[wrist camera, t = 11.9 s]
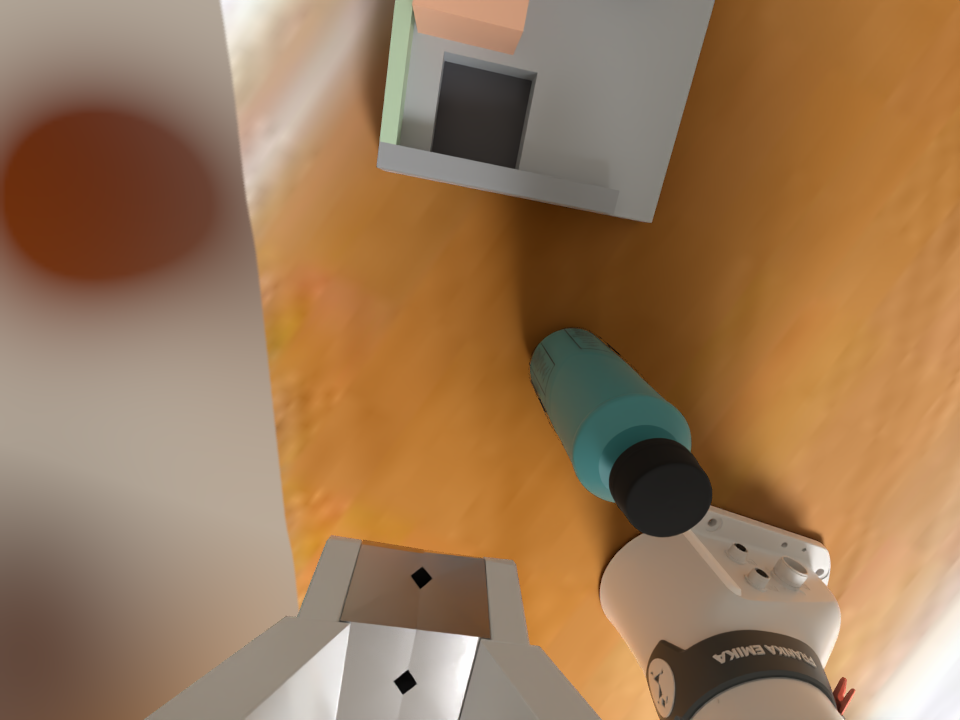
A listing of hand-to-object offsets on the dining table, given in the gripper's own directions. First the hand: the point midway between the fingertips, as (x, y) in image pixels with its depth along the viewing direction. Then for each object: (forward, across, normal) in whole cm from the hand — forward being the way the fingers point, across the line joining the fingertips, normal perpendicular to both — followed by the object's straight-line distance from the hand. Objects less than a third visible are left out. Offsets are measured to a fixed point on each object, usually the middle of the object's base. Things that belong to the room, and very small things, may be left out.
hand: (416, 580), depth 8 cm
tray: (+30, +4, +15) cm, 34 cm away
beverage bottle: (+31, +10, -4) cm, 33 cm away
